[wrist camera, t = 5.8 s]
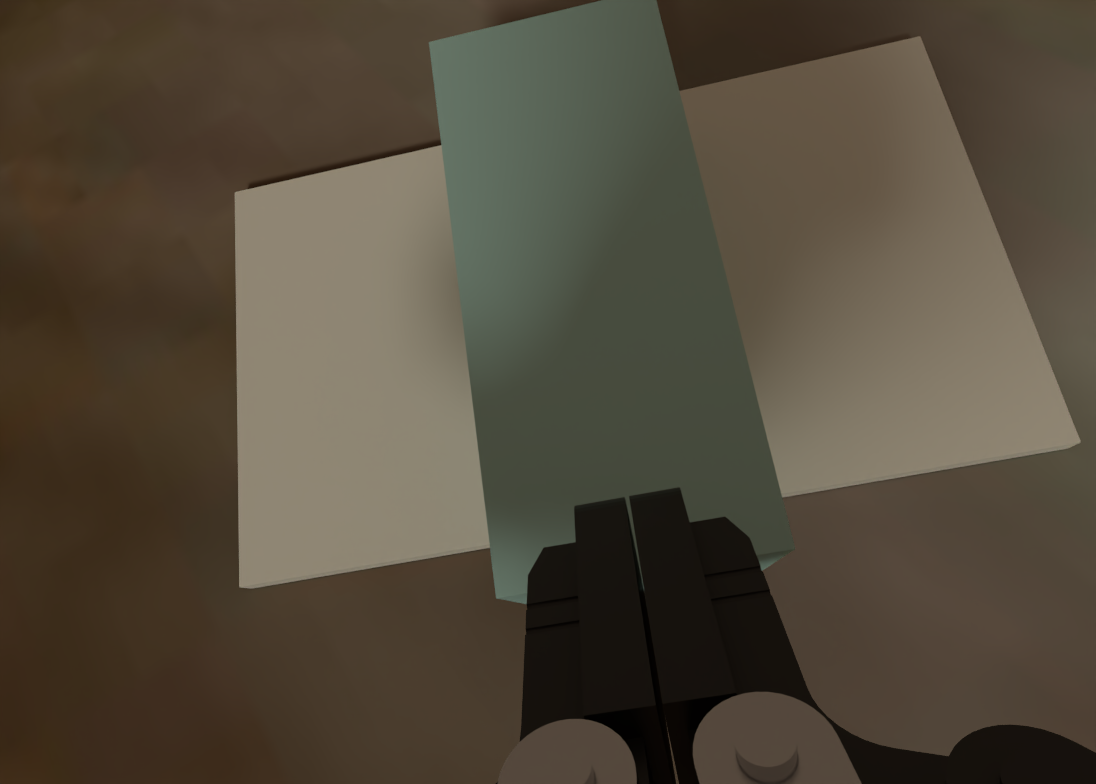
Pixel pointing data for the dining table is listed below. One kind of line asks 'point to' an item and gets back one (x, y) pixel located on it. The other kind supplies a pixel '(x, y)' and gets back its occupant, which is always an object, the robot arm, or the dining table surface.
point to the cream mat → (756, 289)
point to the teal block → (593, 286)
